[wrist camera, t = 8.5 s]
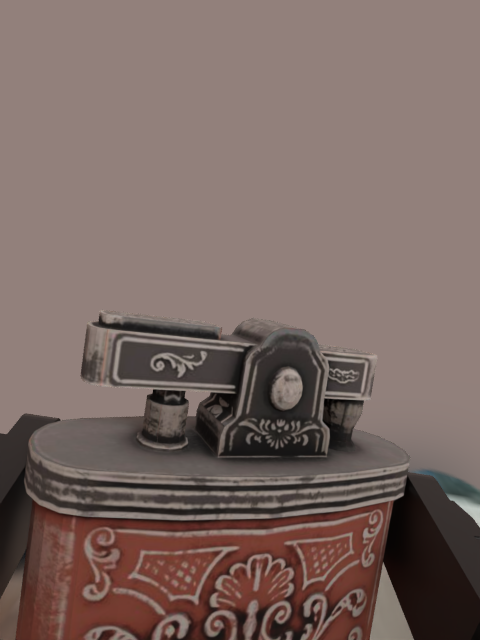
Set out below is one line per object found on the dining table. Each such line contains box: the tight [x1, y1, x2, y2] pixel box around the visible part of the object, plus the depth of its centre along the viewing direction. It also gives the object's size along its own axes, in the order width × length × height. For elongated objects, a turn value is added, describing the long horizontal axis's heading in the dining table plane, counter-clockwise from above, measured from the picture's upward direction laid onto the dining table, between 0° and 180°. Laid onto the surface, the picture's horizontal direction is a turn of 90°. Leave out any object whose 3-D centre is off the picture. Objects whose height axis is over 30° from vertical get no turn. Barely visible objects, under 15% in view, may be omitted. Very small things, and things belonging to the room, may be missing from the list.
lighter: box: [15, 310, 410, 640], centre depth 10 cm, size 8×3×10 cm, turn 109°
